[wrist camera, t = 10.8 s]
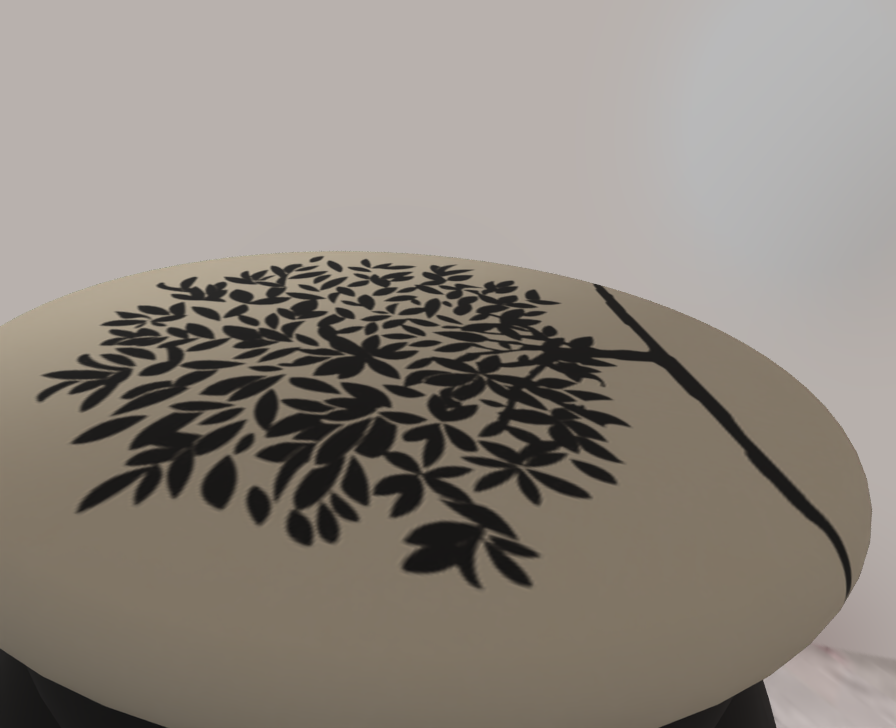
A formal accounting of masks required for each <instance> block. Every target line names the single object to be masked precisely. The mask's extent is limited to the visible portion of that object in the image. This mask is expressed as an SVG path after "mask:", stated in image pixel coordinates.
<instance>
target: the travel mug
mask: <svg viewBox="0 0 896 728" xmlns="http://www.w3.org/2000/svg"><path fill="white" fill-rule="evenodd" d="M871 517H872V507H871V500H870V495H869V489H868V483H867V478H866V475H865V473H864V470H863V468H862V465H861V462H860V460H859V457H858V455H857V452H856V450H855V449H854V447H853V445H852V443H851V442H850V440H849V438H848V437H847V435H846V433H845V432H844V430H843V428H842V427H841V426H840V424H839V423H838V422H837V421H836V420H835V418H834V417H833V416H832V414H831V413H830V412H829V411H828V409H827V408H826V407H825V406H824V405H823V404H822V403H821V402H820V401H819V400H818V399H817V398H816V397H815V396H814V395H813V394H812V393H811V392H810V391H809V390H808V389H807V388H806V387H805V386H804V385H802V384H801V383H800V382H799V381H798V380H796V379H795V378H794V377H793V376H792V375H791V374H789V373H788V372H787V371H786V370H784V369H783V368H781V367H780V366H779V365H777V364H776V363H774V362H773V361H771V360H770V359H769V358H767V357H766V356H764V355H762V354H761V353H759V352H758V351H756V350H754V349H753V348H751V347H749V346H748V345H746V344H744V343H742V342H741V341H739V340H737V339H735V338H733V337H732V336H730V335H728V334H726V333H724V332H722V331H720V330H718V329H716V328H714V327H712V326H710V325H708V324H706V323H704V322H701V321H699V320H697V319H695V318H692V317H690V316H687V315H685V314H683V313H680V312H678V311H675V310H673V309H670V308H668V307H665V306H662V305H660V304H657V303H654V302H652V301H649V300H646V299H643V298H639V297H637V296H634V295H631V294H628V293H625V292H621V291H617V290H614V289H611V288H608V287H605V286H601V285H597V284H593V283H589V282H586V281H582V280H578V279H574V278H569V277H565V276H560V275H557V274H552V273H547V272H542V271H538V270H532V269H527V268H522V267H516V266H510V265H504V264H498V263H491V262H485V261H477V260H469V259H461V258H453V257H443V256H432V255H421V254H408V253H389V252H360V251H353V252H352V251H323V252H322V251H321V252H291V253H275V254H260V255H249V256H240V257H229V258H222V259H214V260H206V261H200V262H194V263H187V264H181V265H176V266H171V267H165V268H160V269H155V270H151V271H147V272H142V273H138V274H134V275H130V276H125V277H122V278H119V279H115V280H111V281H108V282H104V283H100V284H97V285H94V286H91V287H88V288H85V289H82V290H79V291H76V292H73V293H70V294H68V295H65V296H63V297H60V298H58V299H55V300H53V301H50V302H48V303H45V304H43V305H41V306H39V307H37V308H35V309H32V310H30V311H28V312H26V313H24V314H22V315H20V316H18V317H16V318H14V319H12V320H11V321H9V322H7V323H5V324H4V325H2V326H0V728H776V724H775V721H774V717H773V713H772V709H771V705H770V702H769V698H768V695H767V692H766V688H765V685H764V682H763V679H765V678H767V677H768V676H770V675H771V674H772V673H774V672H775V671H776V670H778V669H779V668H780V667H782V666H783V665H784V664H785V663H787V662H788V661H789V660H791V659H792V658H793V657H794V656H796V655H797V654H798V653H800V652H801V651H802V650H803V649H805V648H806V647H807V646H808V645H810V644H811V643H812V642H813V640H814V639H815V638H816V637H817V636H818V635H819V634H820V633H821V631H822V630H823V629H824V628H825V627H826V626H827V625H828V624H829V623H830V621H831V620H832V619H833V618H834V617H835V616H836V615H837V613H838V612H839V611H840V610H841V608H842V606H843V605H844V603H845V601H846V599H847V598H848V596H849V594H850V592H851V591H852V589H853V587H854V586H855V584H856V582H857V580H858V579H859V576H860V574H861V571H862V567H863V564H864V560H865V557H866V554H867V551H868V547H869V544H870V535H871Z"/></svg>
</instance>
